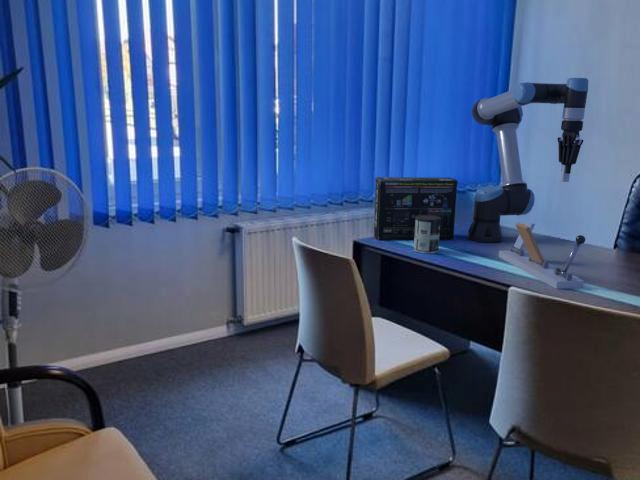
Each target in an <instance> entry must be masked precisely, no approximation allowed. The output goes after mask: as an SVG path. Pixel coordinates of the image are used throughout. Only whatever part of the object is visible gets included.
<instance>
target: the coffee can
mask: <svg viewBox="0 0 640 480" xmlns="http://www.w3.org/2000/svg"><path fill="white" fill-rule="evenodd" d="M415 218H416V221H415V237H414V240H413V251H414V252H416V253H420V254H426V255H427V254H438V252H439V250H440V249H439V247H440V246H439V245H440V240H439V235H440V222H441V217H439V216H435V215H417V216H415Z"/></svg>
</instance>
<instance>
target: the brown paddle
mask: <svg viewBox="0 0 640 480" xmlns="http://www.w3.org/2000/svg"><path fill="white" fill-rule="evenodd" d="M524 224H525V223H524ZM524 224H523V223H520V222H516V223H515V224H514V225H515V226H516V229H517V232H518V234H520V236H521V238H522V240H523V242H524V244H525V246H524V248H526V252H527V253H529V255H530V257H531V258H530V259H531V260H532V261H534V262H535V263H537V264H539V265H541V266H543V262H546V261H545V259H544V256H543V254H542V252H541V250H540V248H539V246H538V244H537V241H536V240H535V237H534V235H533V231H532V232H531V230H530V228H529V227H528V226H526V225H524Z"/></svg>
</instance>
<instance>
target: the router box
mask: <svg viewBox="0 0 640 480" xmlns="http://www.w3.org/2000/svg"><path fill="white" fill-rule="evenodd" d="M458 183H459V180H458V179H456V178H452V177H431V176H430V177H426V176H425V177H418V176H417V177H416V176H415V177H413V176H412V177H409V176H408V177H405V176H404V177H403V176H400V177H398V176H395V177H391V176H390V177H388V176H387V177H385V176H383V177H375V188H374V189H375V190H374V195H375V196H374V217H373V220H374V221H373V237H374V239H376V240H378V241H412V240H413V241H414V237H415V221H416V218H415V216H417V215H435V216H439V217H441V222H440V235H439V241H440V240H442V241H443V240H447V241H448V240H450V241H451V240H454V234H455V221H456V220H455V218H456V206H457V192H458V191H457V190H458Z"/></svg>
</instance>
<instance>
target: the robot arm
mask: <svg viewBox="0 0 640 480" xmlns="http://www.w3.org/2000/svg"><path fill="white" fill-rule="evenodd" d="M588 91H589V79H588V78H586V77H569V78H567V80H566V83H547V82H546V83H545V82H544V83H543V82H542V83H541V82H519V83H518V84H516V86H515V87H514V89H510V90H508V91H506V92H504V93H500V94H498V95H496V96H493V97H491V98H489V97H484V98H481V99H478V100H477V101H476V102H475V103H474V104H473V105H472V108H471V117H472V118H473V120H474V121H475V122H476V123H477V124H479V125H482V126H491V129H492V132H493V133H495V134H496V142H497V149H498V157H499V165H500V172H501V179H502V184H501V186H499V185H489V186H487V185H486V186H482V187H478V188H477V189H476V191H475V193H474V202H473V204H474V205H473V215H472V222H471V224H470V226H469V228H468V231H467V239H469V240H471V241H475V242H479V243H499V242H502V241H503V232H502V227H501V216H503V217H504V216H505V217H506V216H517V217H519V216H522V215H523V216H524V215H527V214H529V213H530V212H531V211H532V209H533V207H534V206H535V193H534V192H533V190H532V189H530V188H528V184H527V182H526V181H524V180H523V174H522V167H521V166H522V165H521V159H520V151H519V143H518V138H517V137H518V136H517V129H518V128H519V126H520V124H521V122H522V121H523V115H524V111H523V107H524V106H526V105H531V104H550V105H553V104H554V105H557V104H559V105H561V104H563V108H562V117H561V119H562V121H561V123H560V124H561V125H560V129H561V130H560V131H562V134H561V136H559V137H557V142H558V162H559V163H560V164H561V173H560V182H562V183H569V181H570V176H571V172H572V166H574V165H576V163H577V160H578V157H579V155H580V151H581V147H582V145H583V143H584V139H581V138H580V136H581V135H580V132H581V131H583V127H584V121H583V120H584V117H585V111H586V105H587V98H588ZM522 106H523V107H522Z"/></svg>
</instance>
